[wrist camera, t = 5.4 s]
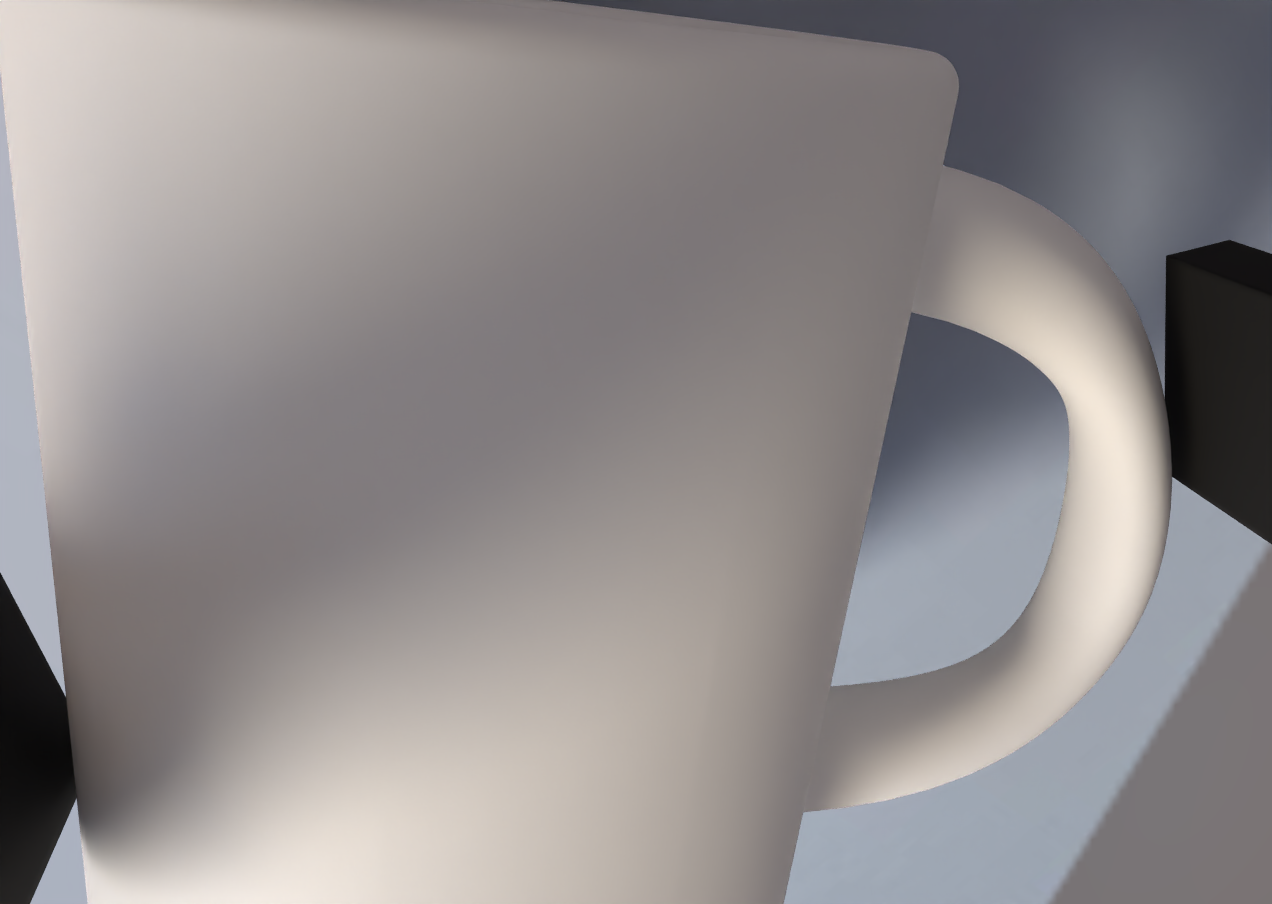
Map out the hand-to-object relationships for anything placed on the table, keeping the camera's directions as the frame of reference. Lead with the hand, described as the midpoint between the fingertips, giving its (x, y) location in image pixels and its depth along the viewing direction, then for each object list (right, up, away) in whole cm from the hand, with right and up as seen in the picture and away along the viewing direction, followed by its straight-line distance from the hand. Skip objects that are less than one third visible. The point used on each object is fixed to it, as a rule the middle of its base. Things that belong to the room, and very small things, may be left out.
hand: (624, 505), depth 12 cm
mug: (0, +2, +4) cm, 4 cm away
